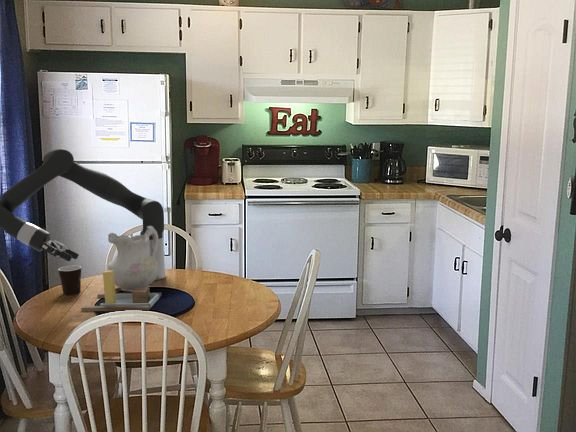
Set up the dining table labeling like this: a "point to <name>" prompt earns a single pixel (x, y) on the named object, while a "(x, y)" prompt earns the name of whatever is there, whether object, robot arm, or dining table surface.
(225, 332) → the dining table surface
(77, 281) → the coffee mug
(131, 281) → the ceramic pitcher
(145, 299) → the block
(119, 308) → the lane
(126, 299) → the shallow grey tray
